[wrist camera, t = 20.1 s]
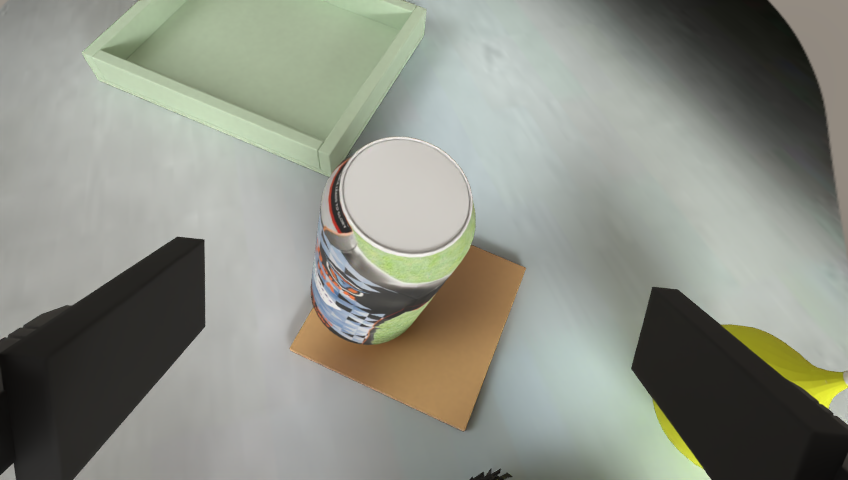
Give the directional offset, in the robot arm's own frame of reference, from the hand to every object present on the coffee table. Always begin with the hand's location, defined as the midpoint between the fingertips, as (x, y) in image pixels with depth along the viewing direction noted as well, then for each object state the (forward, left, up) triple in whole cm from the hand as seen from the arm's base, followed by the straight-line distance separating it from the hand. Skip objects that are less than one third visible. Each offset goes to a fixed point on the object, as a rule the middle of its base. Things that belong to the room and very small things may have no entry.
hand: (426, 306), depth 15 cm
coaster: (-2, +5, -13) cm, 14 cm away
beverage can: (-3, +4, -13) cm, 14 cm away
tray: (-19, +18, -13) cm, 29 cm away
